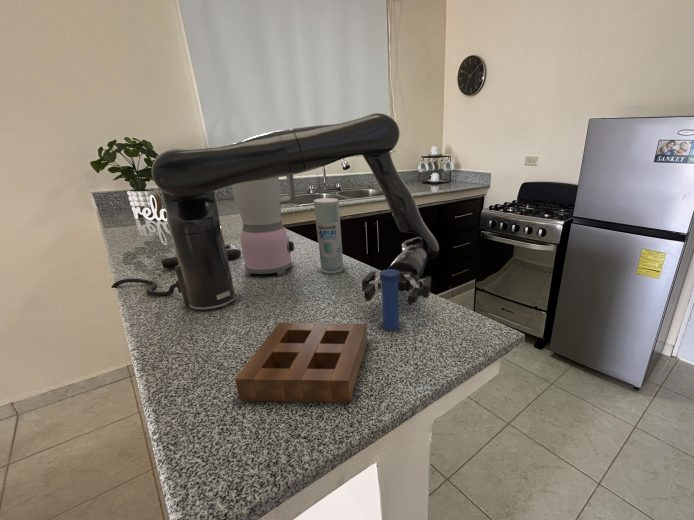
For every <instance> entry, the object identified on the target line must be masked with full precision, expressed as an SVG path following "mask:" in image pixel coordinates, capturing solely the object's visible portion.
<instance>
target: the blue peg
mask: <svg viewBox="0 0 694 520" xmlns="http://www.w3.org/2000/svg"><path fill="white" fill-rule="evenodd" d="M379 276H380V279H381V280H382V293H381V299H382V300H381V303H382V327H383V329H384V330H385V331H390V332H391V331H396V330H398V329H399V327H400V314H399V313H400V312H399V311H400V309H399V305H400V304H399V291H398V280H399V279H400V272H399V271H398V270H395V269H388V268H387V269H383V270H381V271H380V272H379Z"/></svg>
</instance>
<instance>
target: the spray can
mask: <svg viewBox="0 0 694 520" xmlns="http://www.w3.org/2000/svg"><path fill="white" fill-rule="evenodd" d="M313 208H314V216H315V217H314V218H315V225H316V226H315V227H316V234H317V243H318V251H319V253H318V254H319V262H320V269H321V272H322V273H324V274H336V273H337V274H338V273H340V272H342V271H343V270H344V256H343V243H342V242H343V241H342V228H341V215H340V214H341V213H340V200H339V199H338V198H335V197H334V198H333V197H331V198H330V197H322V198H316V199H314V200H313Z"/></svg>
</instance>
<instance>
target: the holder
mask: <svg viewBox="0 0 694 520" xmlns="http://www.w3.org/2000/svg"><path fill="white" fill-rule="evenodd" d="M367 345H368V326H367V323H338V322H337V323H335V322H334V323H332V322H331V323H327V322H326V323H325V322H278V323H277V325H276V326H275V327H274V329H272V331H271V333H270V334H269V335H268V336H267V337H266V339H265V340H264V341H263V342H262V344H261V345H260V346H259V348H258V349H257V350H256V351H255V352H254V354H253V355H252V356H251V357H250V359H249V360H248V361H247V363H246V364H245V365H244V367H243V368H242V369H241V370H240V372H239V373H238V374H237V376H236V377H235V378H234V381H235V386H236V389H237V394H238V399H239V402H287V403H289V402H293V403H298V402H299V403H303V402H304V403H352V399H353V394H354V391H355V388H356V384H357V380H358V376H359V374H360V370H361V367H362V364H363V359H364V356H365V352H366V349H367Z"/></svg>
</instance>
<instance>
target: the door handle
mask: <svg viewBox="0 0 694 520" xmlns="http://www.w3.org/2000/svg"><path fill="white" fill-rule="evenodd" d="M225 248H226V252H227V257H228V260H233V259H239V258H240V257H241V255H242V250H240V249H239V248H238V247H237V246H236V245H234V244H231V243H230V244H225ZM160 261H161V266H162V268H163V269H175V267H176V266H177V265H179V263H178V259H177V256H172V257H171V256H170V257H166V258H162V259H161V260H160Z"/></svg>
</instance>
